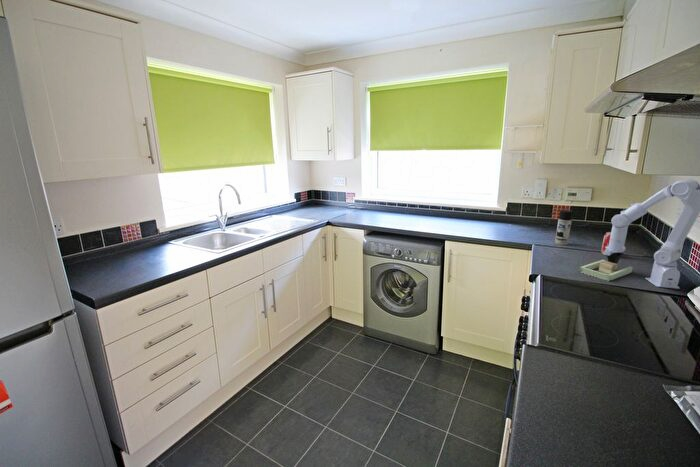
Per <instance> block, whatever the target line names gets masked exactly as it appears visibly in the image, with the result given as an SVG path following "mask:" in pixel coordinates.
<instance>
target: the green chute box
mask: <svg viewBox="0 0 700 467" xmlns="http://www.w3.org/2000/svg"><path fill="white" fill-rule="evenodd" d="M604 261H607V260H605V259H600V260H598V261H594V262H591V263H588V264H586V265H582V266H580V267H579V269H578V273H581V274H583V273H584V275H586V274H587V275H586V276H590V275H591V276H590V277H593V276H594V277H593V278H596V277H597V279H600V280H603V281H606V280H607V282H610V280H611V281H613V280H615V279H618V278H621V277H623V276H626V275H628V274H631V273H632V272H633V269H634V267H633V266H627V267H624V268H622V269H619V270H616V272H613V273H611V274H608V273H604V272H601V271H598V270H594V269H599V265H600V263H601V262H604Z"/></svg>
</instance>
